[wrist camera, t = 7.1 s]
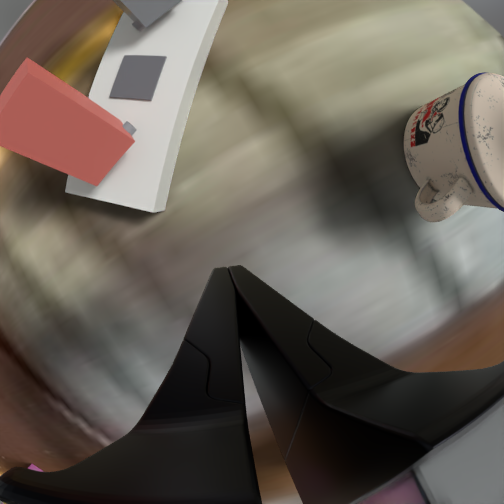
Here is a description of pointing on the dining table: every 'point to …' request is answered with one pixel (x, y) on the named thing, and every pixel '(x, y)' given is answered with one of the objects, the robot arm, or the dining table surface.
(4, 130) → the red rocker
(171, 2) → the block
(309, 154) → the dining table surface
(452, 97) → the teacup with lid
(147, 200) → the power strip
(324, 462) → the robot arm
